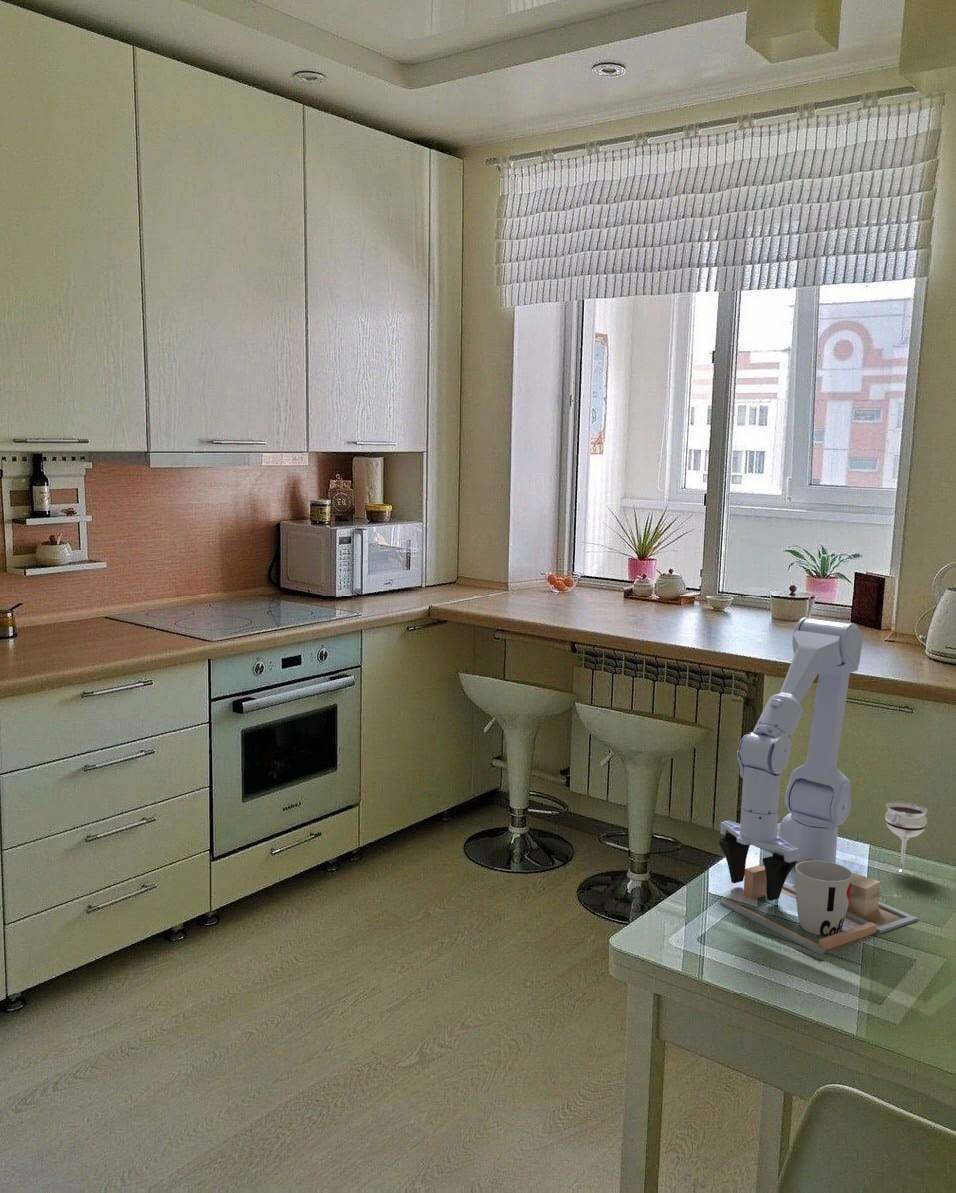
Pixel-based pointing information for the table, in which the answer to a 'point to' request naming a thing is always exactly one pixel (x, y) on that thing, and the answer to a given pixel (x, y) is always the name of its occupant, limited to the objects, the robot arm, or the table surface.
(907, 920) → the lane frame
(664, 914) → the table surface
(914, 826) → the wineglass
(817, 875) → the cup
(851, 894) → the beech cube
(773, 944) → the table surface
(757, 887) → the cup sled
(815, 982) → the table surface
